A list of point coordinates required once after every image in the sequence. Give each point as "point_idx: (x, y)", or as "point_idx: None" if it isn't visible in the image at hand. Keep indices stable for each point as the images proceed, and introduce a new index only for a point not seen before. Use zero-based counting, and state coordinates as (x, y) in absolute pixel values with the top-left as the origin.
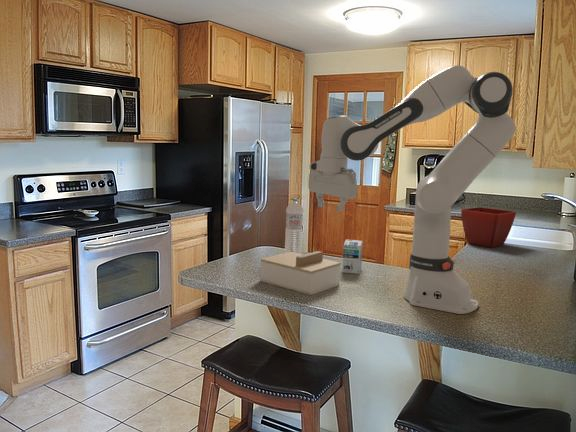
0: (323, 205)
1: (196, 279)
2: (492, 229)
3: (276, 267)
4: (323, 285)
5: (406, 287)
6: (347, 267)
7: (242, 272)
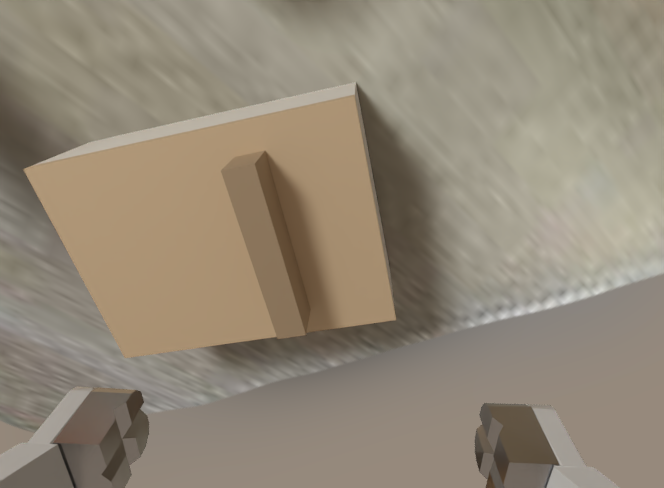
0: (133, 412)
1: None
2: None
3: None
4: (377, 204)
5: None
6: None
7: (39, 293)
